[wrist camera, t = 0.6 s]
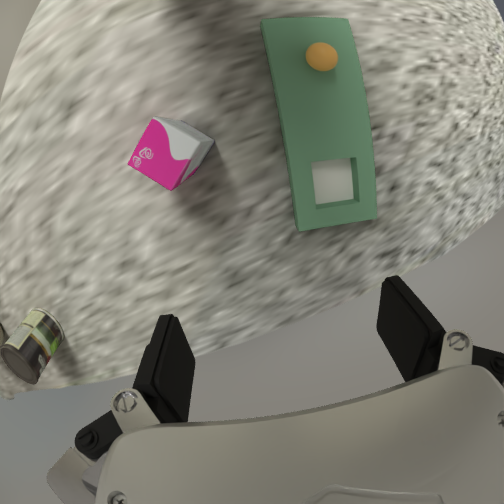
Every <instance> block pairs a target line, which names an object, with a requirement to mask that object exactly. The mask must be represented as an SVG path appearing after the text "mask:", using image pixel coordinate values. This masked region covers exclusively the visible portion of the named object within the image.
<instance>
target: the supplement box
mask: <svg viewBox="0 0 504 504" xmlns="http://www.w3.org/2000/svg"><path fill="white" fill-rule="evenodd" d="M214 142H215V141H214V140H213V139H211V138H210V137H208V136H207V135H205V134H203V133H202V132H200V131H198V130H197V129H195V128H193V127H192V126H190V125H188V124H186V123H185V122H183V121H180V120H174V119H168V118H162V117H156V116H154V117H153V118H152V120H151V121H150V123H149V125H148V127H147V128H146V130H145V132H144V134H143V136H142V137H141V139H140V141H139V143H138V145H137V147H136V148H135V150H134V152H133V154H132V156H131V158H130V160H129V162H128V165H129V166H131V167H133V168H134V169H136V170H138V171H139V172H141V173H143V174H144V175H146V176H148V177H149V178H151V179H152V180H154V181H155V182H157V183H159V184H160V185H162V186H163V187H165V188H167V189H168V190H170V191H172V190H173V189H175V188H176V187H177V186H178V185H180V184H181V183H182V182H184V181H185V180H186V179H187V178H189V177H190V176H191V175H193V174H194V173H195V171H196V170H197V168H198V167H199V165H200V164H201V162H202V161H203V159H204V158H205V156H206V154H207V153H208V151H209V150H210V148H211V147H212V145H213V143H214Z"/></svg>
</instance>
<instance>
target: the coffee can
mask: <svg viewBox="0 0 504 504" xmlns="http://www.w3.org/2000/svg"><path fill="white" fill-rule="evenodd" d="M63 338H64V336H63V331H62V328H61V326H60V325H59V323H58V322H57V320H56V319H55V318H54V317H53V316H52V315H51V314H50V313H48V312H47V311H45V310H44V309H41V308H34V309H33V310H32V311H31V312H30V314H29V315H28V316H27V317H26V318H25V319H24V321H23V322H22V323H21V324H20V325H19V327H18V328H17V329H16V330H15V331H14V333H13V334H12V335H11V336H10V338H9V339H8V340H7V342H6V343H5V344H4V345H3V346H2V347H1V349H0V352H1V355H2V358H3V360H4V361H5V363H6V364H7V366H8V367H9V368H10V369H11V370H12V371H13V372H14V373H15V374H16V375H17V376H18V377H19V378H21V379H22V380H24V381H25V382H27V383H30V384H36V383H37V382H38V379H39V377H40V375H41V374H42V372H43V370H44V369H45V367H46V365H47V364H48V362H49V360H50V359H51V357H52V355H53V354H54V352H55V351H56V349H57V348H58V346H59V345H60V343H61V342H62V341H63Z"/></svg>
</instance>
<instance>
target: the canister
mask: <svg viewBox="0 0 504 504" xmlns="http://www.w3.org/2000/svg"><path fill="white" fill-rule="evenodd" d="M3 339H4V335H3V330H2V328H1V325H0V347H1V345H2V343H3Z"/></svg>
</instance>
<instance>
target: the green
mask: <svg viewBox="0 0 504 504" xmlns="http://www.w3.org/2000/svg"><path fill="white" fill-rule="evenodd" d="M260 27H261V31H262V35H263V40H264V44H265V49H266V53H267V58H268V62H269V67H270V72H271V77H272V82H273V87H274V92H275V97H276V102H277V108H278V113H279V119H280V124H281V130H282V136H283V142H284V148H285V154H286V160H287V167H288V173H289V180H290V187H291V194H292V201H293V209H294V216H295V224H296V227H297V229H298V231H299V232H300V231H306V230H311V229H317V228H323V227H329V226H335V225H341V224H346V223H352V222H358V221H364V220H370V219H377V201H376V179H375V165H374V153H373V143H372V134H371V126H370V119H369V112H368V105H367V99H366V93H365V88H364V82H363V77H362V72H361V68H360V63H359V59H358V54H357V50H356V46H355V42H354V39H353V35H352V31H351V28H350V24H349V21H348V19H344V18H326V17H290V18H273V19H262V20H261V25H260ZM318 42H323V43H327V44H329V45H331V46H332V47H333V48H334V49H335V50H336V52H337V54H338V62H337V64H336V66H335V67H334V68H333V69H331V70H329V71H318V70H315V69H314V68H312V67H311V66H310V65H309V64H308V62H307V60H306V51H307V49H308V47H309V46H311V45H312V44H314V43H318Z"/></svg>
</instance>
